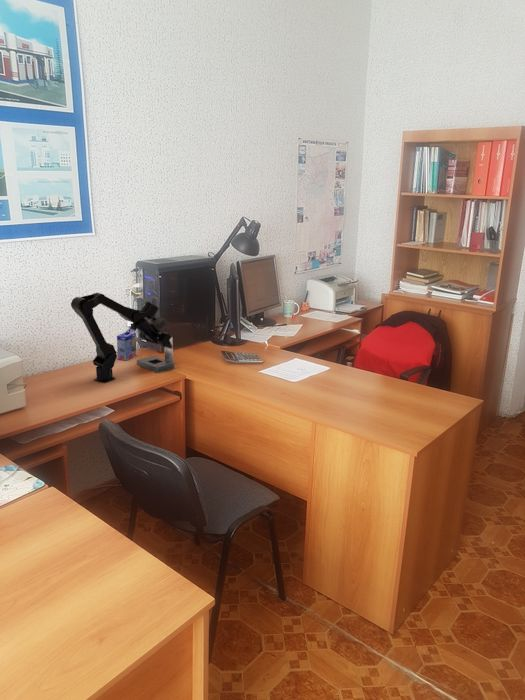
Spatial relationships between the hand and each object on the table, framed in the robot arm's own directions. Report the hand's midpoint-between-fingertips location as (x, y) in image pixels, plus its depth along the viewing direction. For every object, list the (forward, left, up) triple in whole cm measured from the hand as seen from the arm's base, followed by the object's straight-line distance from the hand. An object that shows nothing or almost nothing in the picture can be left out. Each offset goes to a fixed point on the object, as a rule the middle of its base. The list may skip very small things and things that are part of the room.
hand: (165, 345), depth 266 cm
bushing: (+1, 0, -9) cm, 9 cm away
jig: (-6, +2, -9) cm, 11 cm away
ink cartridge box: (-2, +23, -9) cm, 25 cm away
